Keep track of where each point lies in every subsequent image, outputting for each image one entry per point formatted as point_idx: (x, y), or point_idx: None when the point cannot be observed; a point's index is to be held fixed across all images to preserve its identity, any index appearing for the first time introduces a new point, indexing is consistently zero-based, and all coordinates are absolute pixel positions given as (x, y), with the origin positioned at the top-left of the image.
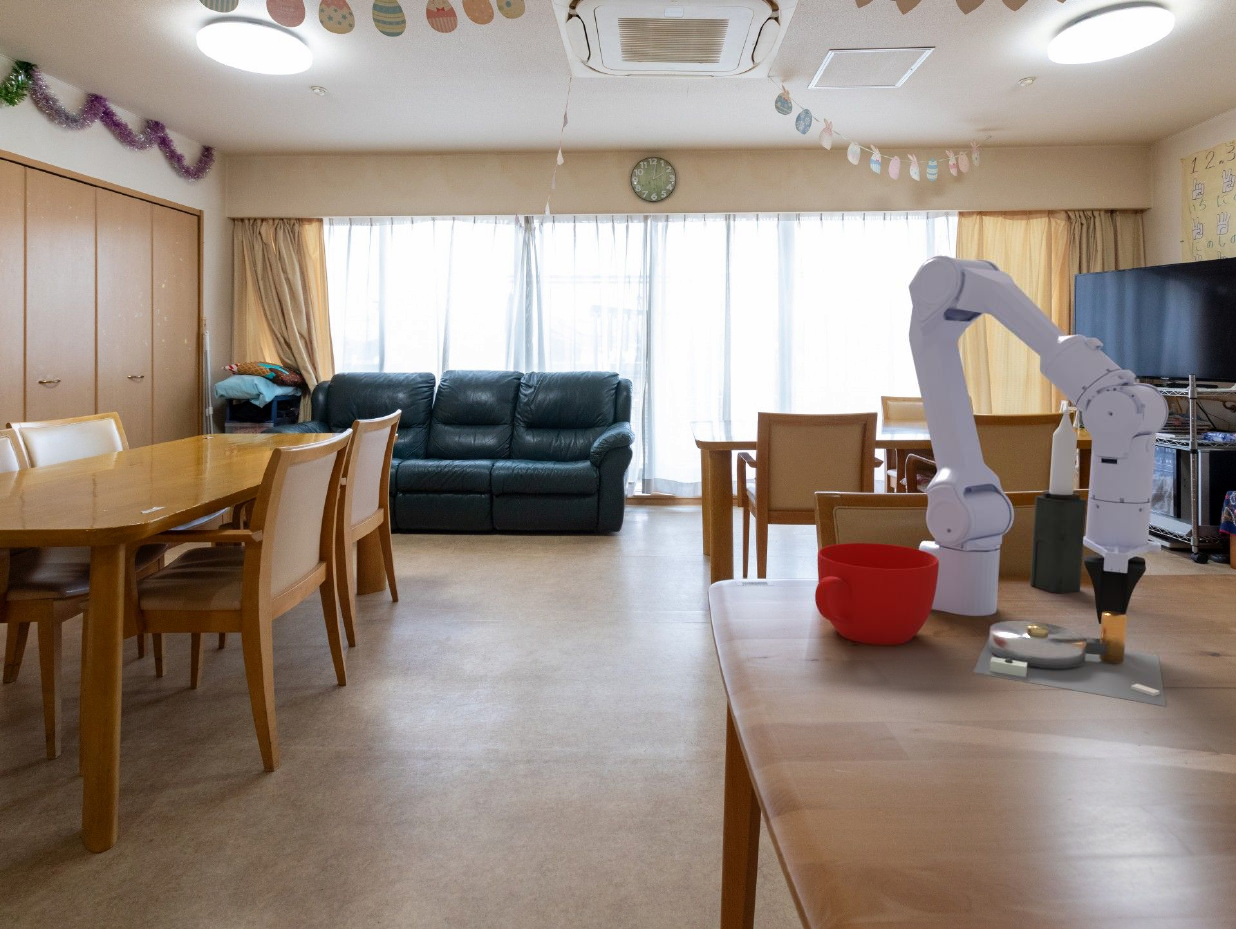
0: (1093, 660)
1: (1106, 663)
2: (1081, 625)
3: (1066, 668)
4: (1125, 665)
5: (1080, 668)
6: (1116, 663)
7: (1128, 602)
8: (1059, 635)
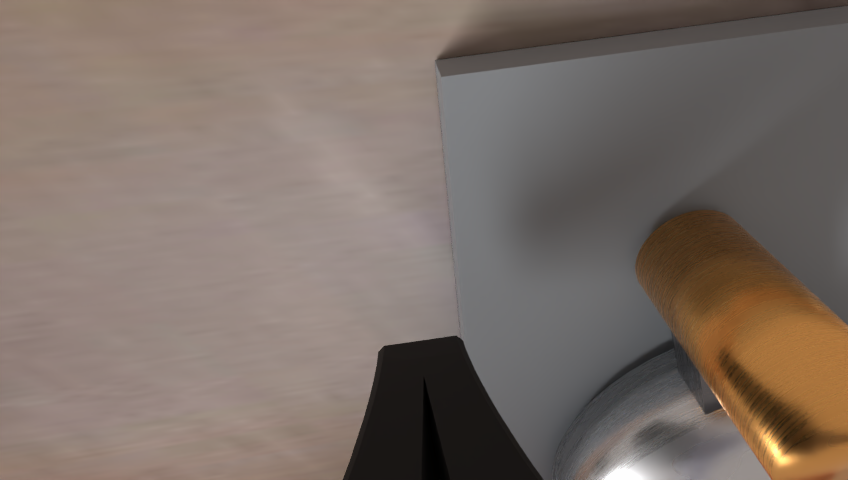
0: None
1: None
2: (19, 410)
3: None
4: (714, 192)
5: None
6: None
7: (533, 466)
8: (746, 474)
